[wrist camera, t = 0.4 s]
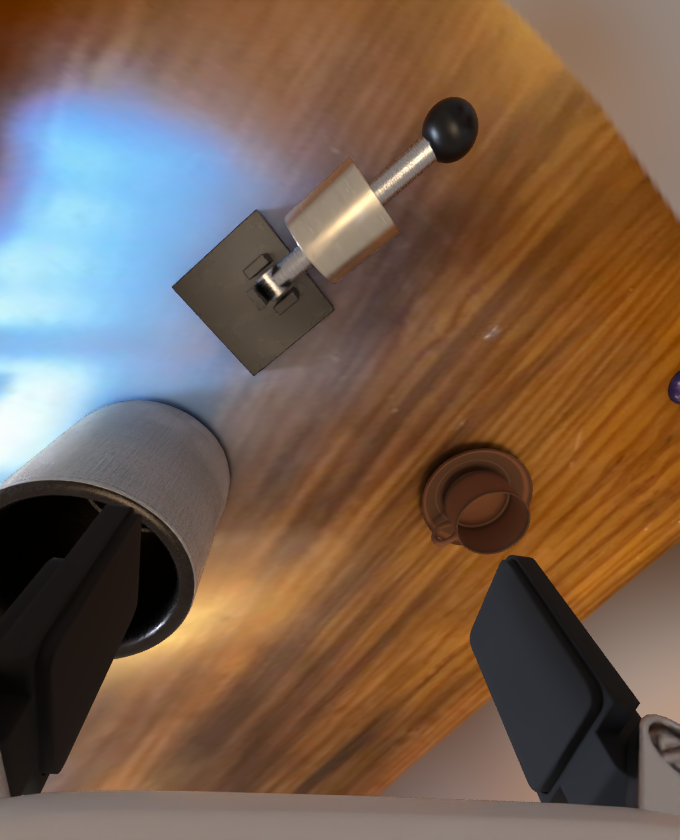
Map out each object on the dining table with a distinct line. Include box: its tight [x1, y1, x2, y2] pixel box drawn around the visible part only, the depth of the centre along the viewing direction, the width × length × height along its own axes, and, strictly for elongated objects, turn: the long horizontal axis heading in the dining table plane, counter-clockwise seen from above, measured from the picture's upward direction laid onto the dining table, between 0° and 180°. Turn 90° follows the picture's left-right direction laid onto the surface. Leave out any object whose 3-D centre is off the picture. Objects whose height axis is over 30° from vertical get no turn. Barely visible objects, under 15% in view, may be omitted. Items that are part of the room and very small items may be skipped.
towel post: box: [256, 97, 478, 301], centre depth 30 cm, size 6×6×19 cm
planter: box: [0, 400, 230, 659], centre depth 36 cm, size 16×16×16 cm
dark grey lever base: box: [172, 210, 335, 376], centre depth 34 cm, size 10×10×7 cm
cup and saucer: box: [422, 448, 533, 554], centre depth 44 cm, size 12×12×6 cm
